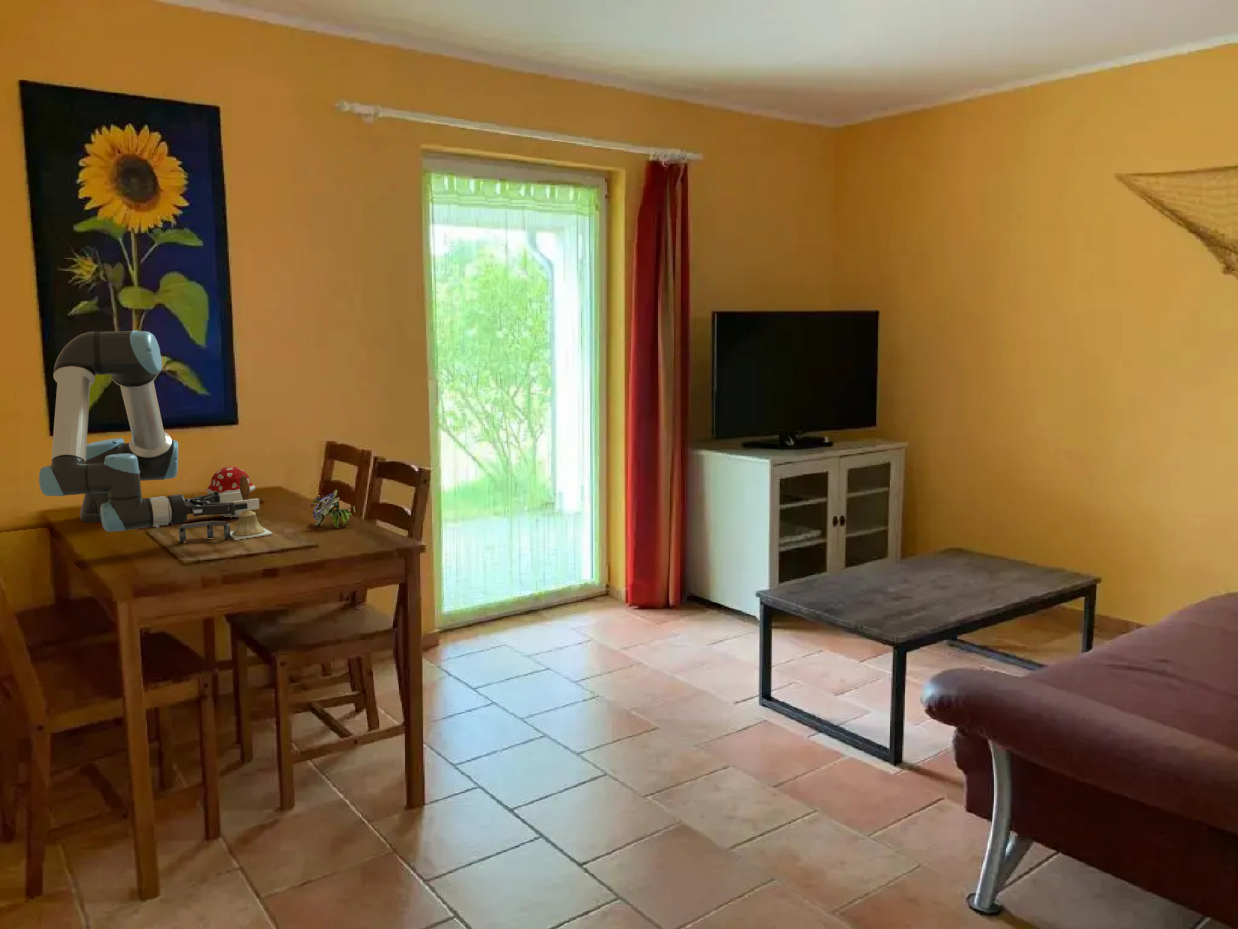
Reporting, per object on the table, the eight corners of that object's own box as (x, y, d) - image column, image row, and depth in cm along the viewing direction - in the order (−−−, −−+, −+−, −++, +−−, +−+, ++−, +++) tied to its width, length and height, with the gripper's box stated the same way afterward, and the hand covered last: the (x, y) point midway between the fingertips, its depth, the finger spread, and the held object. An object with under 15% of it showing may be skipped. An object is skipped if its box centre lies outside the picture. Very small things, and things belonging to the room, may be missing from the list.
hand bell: (254, 536, 260) (249, 478, 257) (226, 535, 261) (221, 477, 259) (270, 529, 268) (266, 473, 265) (243, 528, 269) (239, 472, 267)
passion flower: (320, 544, 275) (303, 508, 278) (355, 531, 281) (338, 496, 284) (326, 529, 266) (309, 492, 269) (363, 516, 272) (345, 480, 275)
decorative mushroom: (197, 519, 285) (193, 469, 283) (230, 510, 298) (226, 462, 296) (236, 522, 281) (232, 471, 278) (267, 512, 294) (264, 464, 292)
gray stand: (179, 542, 257) (177, 524, 256) (226, 535, 264) (225, 518, 263) (183, 546, 253) (182, 528, 252) (231, 539, 260) (230, 521, 259)
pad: (225, 534, 266) (224, 532, 265) (262, 528, 271) (261, 526, 271) (235, 540, 258) (234, 538, 257) (272, 535, 263) (272, 533, 263)
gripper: (158, 516, 262) (239, 506, 274) (180, 532, 242) (266, 520, 254) (156, 489, 260) (237, 480, 273) (178, 503, 241) (264, 492, 253)
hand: (251, 499), depth 264 cm, fingers open, 13 cm apart
